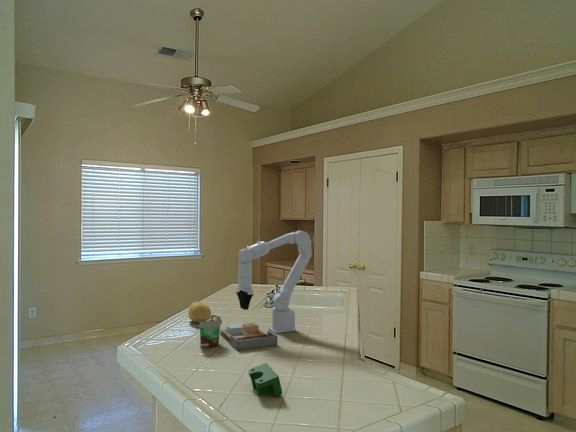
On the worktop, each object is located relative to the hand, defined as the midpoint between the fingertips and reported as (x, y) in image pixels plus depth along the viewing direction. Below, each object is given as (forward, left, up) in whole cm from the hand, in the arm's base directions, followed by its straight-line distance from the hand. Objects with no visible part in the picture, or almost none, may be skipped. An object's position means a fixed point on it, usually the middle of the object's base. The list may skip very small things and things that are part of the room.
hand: (244, 308), depth 180 cm
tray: (+4, +20, -9) cm, 22 cm away
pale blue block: (+7, +8, -7) cm, 13 cm away
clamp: (+16, +61, -10) cm, 63 cm away
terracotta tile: (0, +8, -7) cm, 11 cm away
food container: (+18, +14, -10) cm, 24 cm away
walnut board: (+4, +9, -9) cm, 13 cm away
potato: (+14, -22, -10) cm, 28 cm away
